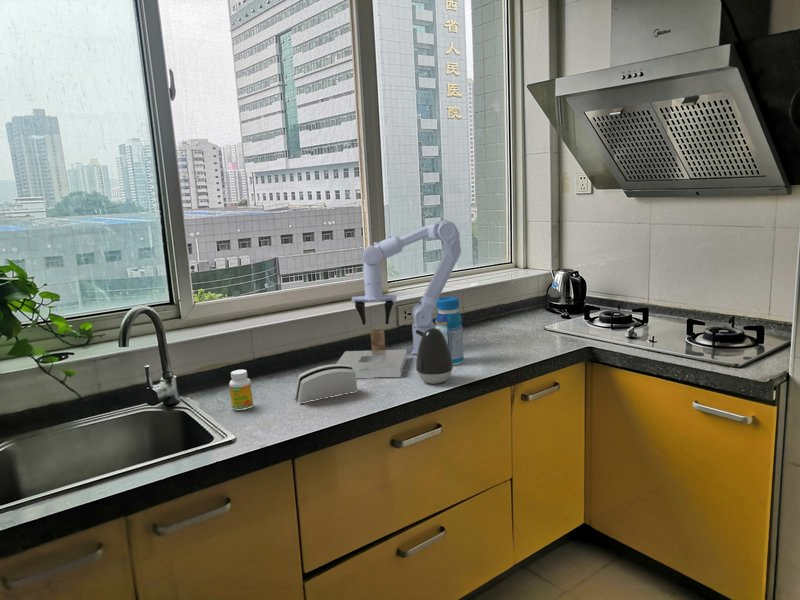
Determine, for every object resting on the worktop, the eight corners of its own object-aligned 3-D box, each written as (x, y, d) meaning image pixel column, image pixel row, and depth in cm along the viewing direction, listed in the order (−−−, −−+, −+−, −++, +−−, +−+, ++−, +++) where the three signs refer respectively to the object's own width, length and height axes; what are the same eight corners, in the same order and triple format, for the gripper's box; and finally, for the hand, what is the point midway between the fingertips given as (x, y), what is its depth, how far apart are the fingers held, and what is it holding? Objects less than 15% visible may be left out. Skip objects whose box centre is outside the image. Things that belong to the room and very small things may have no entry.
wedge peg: (385, 352, 201) (384, 329, 200) (384, 355, 197) (382, 332, 196) (373, 353, 201) (372, 329, 200) (372, 356, 198) (370, 332, 196)
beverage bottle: (463, 366, 180) (460, 300, 176) (435, 366, 182) (431, 301, 178) (465, 358, 188) (462, 295, 184) (438, 358, 190) (435, 296, 186)
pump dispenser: (427, 374, 175) (424, 323, 172) (459, 377, 169) (457, 325, 167) (409, 384, 166) (406, 331, 163) (443, 388, 161) (440, 333, 158)
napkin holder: (351, 387, 167) (353, 357, 162) (357, 396, 163) (360, 366, 159) (292, 399, 160) (293, 368, 155) (298, 409, 156) (298, 378, 152)
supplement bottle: (231, 412, 152) (227, 376, 151) (232, 405, 158) (228, 370, 156) (253, 409, 154) (249, 373, 152) (253, 403, 159) (249, 367, 157)
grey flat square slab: (407, 358, 192) (406, 349, 192) (400, 377, 173) (400, 367, 172) (345, 360, 194) (345, 351, 194) (332, 379, 175) (331, 369, 174)
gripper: (348, 285, 192) (351, 327, 194) (393, 284, 190) (396, 326, 192) (353, 282, 199) (355, 322, 201) (396, 280, 197) (398, 321, 199)
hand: (375, 323), depth 197 cm, fingers open, 7 cm apart
